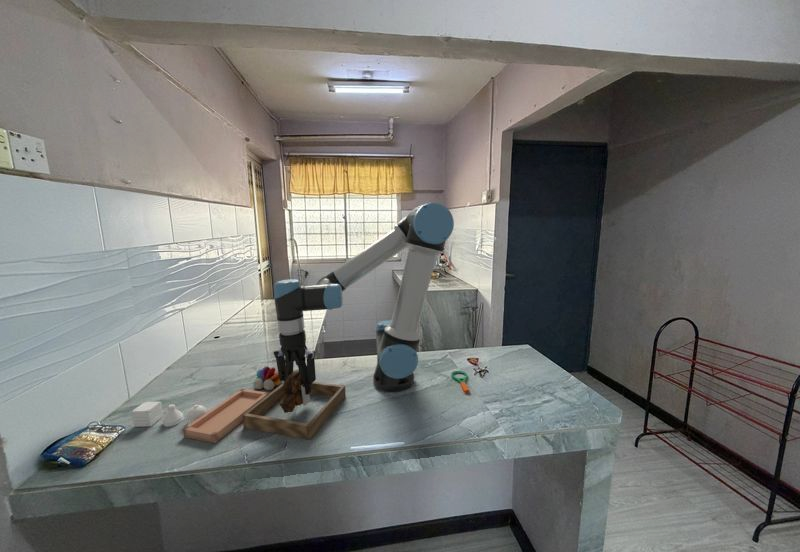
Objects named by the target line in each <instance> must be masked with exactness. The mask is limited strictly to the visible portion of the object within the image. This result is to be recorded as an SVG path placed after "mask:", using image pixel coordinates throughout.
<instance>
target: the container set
mask: <svg viewBox="0 0 800 552" xmlns="http://www.w3.org/2000/svg"><path fill="white" fill-rule="evenodd" d="M162 406H163V405H162V402H161V401H146V402H142V403H141V404H140V405H138V406H137V407H136V408H134V409H133V410H132V411H131V417H132V422H133V426H134V427H138V428H139V427H151V426H153V425H155V423H157V422H159V420H161V419H162V418H163V416H164V411H163V407H162ZM207 410H208V409H207V408H206V407H205V406H204V405H201V404H194V406H192V407H191V408H189V410H188V412H187V415H186V416H187V426H188V425H189V424H191V423H192V422H194V421H195V420H197V419H198V418H200V417H201V416H203V415H204V414H205V413H207V412H208V411H207ZM183 420H184V413H183V412H181V411H180V410H178V409H177V408H176V404H172V403H171V404H169V405H168V406H167V412H166V414H165V416H164V418H163V419H162V424H163V425H162V426H164V427H166V428H167V427H172V426H175V425H178V424H180V423H181V422H183Z"/></svg>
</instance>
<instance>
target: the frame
mask: <svg viewBox="0 0 800 552" xmlns="http://www.w3.org/2000/svg"><path fill="white" fill-rule="evenodd" d="M283 385H284V382H283V383H280V384H279V385H278V386H277V387H276V388H275V389H273V390H271V392H269V395H267V396H266V397H265V398H263V399H262V400H261V401H260V402H258V403H257V404H256V405H254V406H253V407H252V408H251V409H249V410H248V411H247V412H245V413H244V414H243V415H242V418H243V422H242V426H243V428H244V429H250V430H254V431H255V430H256V431H260V432H267V433H272V434H276V435H282V436H286V437H293V438H298V439H299V438H300V439H303V440H309V441H311V440H312V439H313V438H314V436H315V435H316V434H317V433H318V432H319V430H320V429H322V427H323V425H324V424H325V423H326V422H327V420H328V419H329V418H330V417H331V416H332V414H333V413H334V412H335V411H336V409H337V408H338V407H339V406H340V405H341V403H342V402H343V401H344V400H345V398H346V397H347V396H346V394H347V393H346V385H342V384H335V383H334V384H332V383H325V382H316V381H314V382H313V383H312V385H313V387H312V390H311V392H310V394H311V395H317V396H324V397H330V399H329V400H328V401H327V402H326V403H325V405H324V406H322V407H321V409H320V410H319V411H318V412H317V413H316V414H315V416H313V418H312V419H311V420H310V421H309V422H308V423H306V422H299V421H294V420H288V419H283V418H282V419H281V418H277V417H276V418H275V417H270V416H265V415H264V414H265V413H266V412H268V411H269V410H270V409H271V408H272V407H273V406H275V405H276V403H278V402H279V401H281V398H282V397H283V396H284V395H285V394H286V391H285V390H284V388H283ZM263 415H264V416H263Z"/></svg>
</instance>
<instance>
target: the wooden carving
mask: <svg viewBox="0 0 800 552" xmlns="http://www.w3.org/2000/svg"><path fill="white" fill-rule="evenodd" d="M283 383H284V385H283V388H284V390H285V391H286V394H285V395H284V396H283V397H282V398H281V399H280V400H279V401H280V402H279V406H280V407H281V409H282V411H283V412H284V413H285V414H286V413H293V411H294V410H295V408H296V407H297V406H298V407H299V406H301V405H303V399H302V390H301V385H303V382H302V378H301V375H300V372H299V369H298V370H297V369H296V370H293V372H292V373H291V374H290V375H289V376H288V377H287V379H286V381H283ZM310 385H311V390H312V387H313V385H312V384H310ZM309 395H310V393H309ZM310 396H311V395H310Z"/></svg>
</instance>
